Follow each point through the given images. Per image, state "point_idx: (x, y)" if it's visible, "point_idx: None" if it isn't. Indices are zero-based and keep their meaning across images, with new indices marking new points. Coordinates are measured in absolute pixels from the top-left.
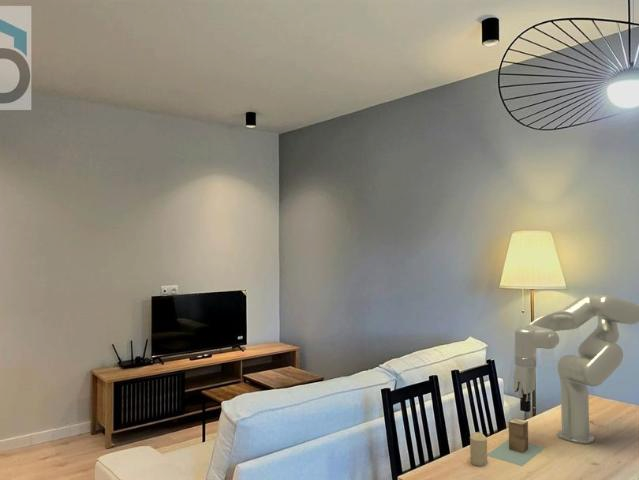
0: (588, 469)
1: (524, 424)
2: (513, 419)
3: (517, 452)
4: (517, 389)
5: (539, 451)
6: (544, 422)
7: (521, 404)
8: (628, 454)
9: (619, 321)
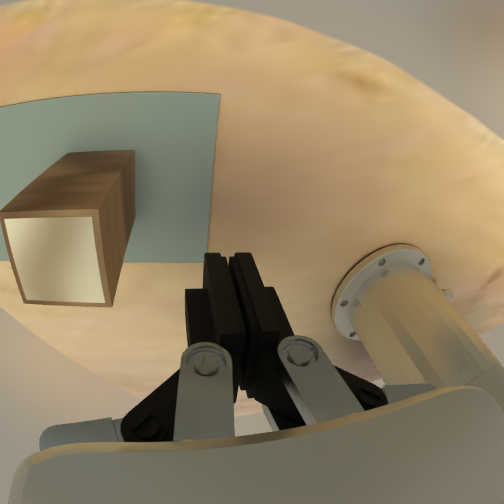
0: (140, 378)
1: (56, 301)
2: (61, 220)
3: None
4: (203, 481)
5: (145, 258)
6: (481, 176)
7: (212, 303)
8: None
9: None
